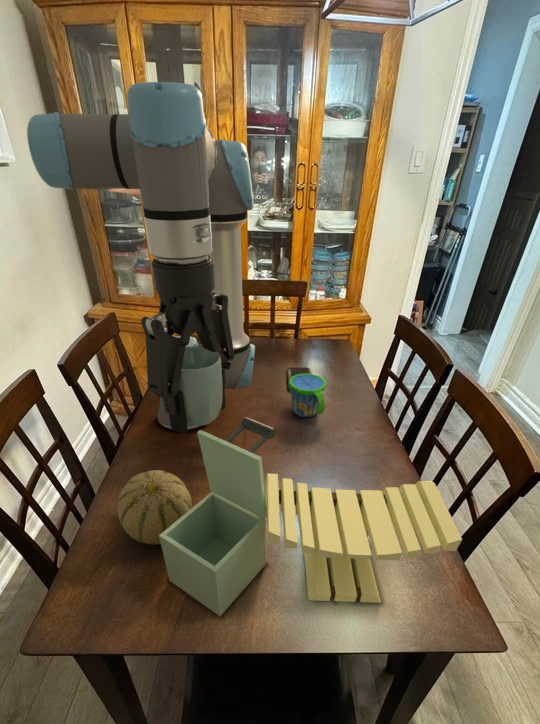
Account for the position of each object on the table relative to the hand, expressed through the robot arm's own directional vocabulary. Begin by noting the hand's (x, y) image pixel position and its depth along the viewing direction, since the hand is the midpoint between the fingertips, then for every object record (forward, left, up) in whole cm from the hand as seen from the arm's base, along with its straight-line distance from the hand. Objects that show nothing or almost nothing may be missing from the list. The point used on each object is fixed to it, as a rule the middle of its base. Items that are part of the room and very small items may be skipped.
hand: (199, 417), depth 64 cm
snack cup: (-13, +56, -32) cm, 66 cm away
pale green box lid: (+4, +2, -11) cm, 12 cm away
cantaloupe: (-12, -3, -32) cm, 34 cm away
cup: (0, 0, 0) cm, 0 cm away
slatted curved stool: (+22, +11, -32) cm, 40 cm away
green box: (+4, -4, -32) cm, 32 cm away
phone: (-25, +72, -32) cm, 83 cm away
